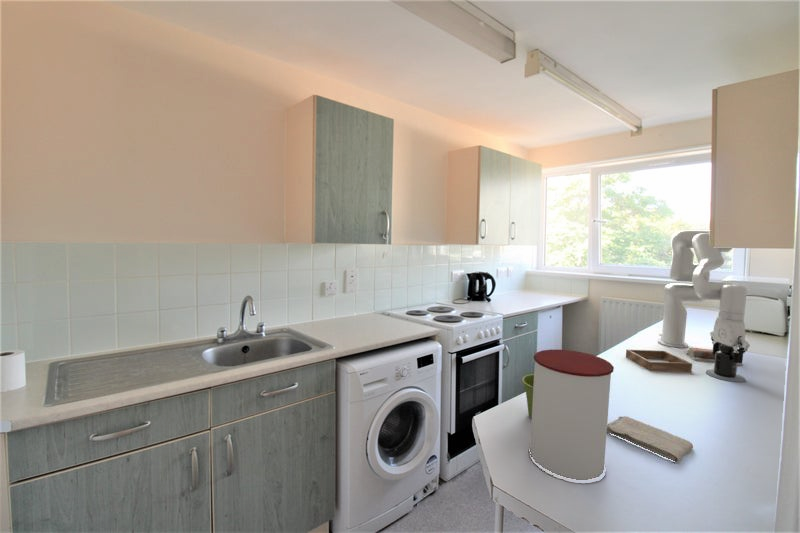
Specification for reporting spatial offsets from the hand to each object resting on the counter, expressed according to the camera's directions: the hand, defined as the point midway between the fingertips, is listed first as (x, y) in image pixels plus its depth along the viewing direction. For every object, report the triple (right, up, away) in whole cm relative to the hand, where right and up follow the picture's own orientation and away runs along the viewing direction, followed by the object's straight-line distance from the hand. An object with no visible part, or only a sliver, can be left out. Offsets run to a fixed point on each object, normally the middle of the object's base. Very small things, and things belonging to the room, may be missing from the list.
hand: (726, 358), depth 147 cm
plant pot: (-88, -9, -36) cm, 96 cm away
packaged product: (+12, -6, +21) cm, 25 cm away
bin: (-19, -6, +13) cm, 24 cm away
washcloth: (-64, -11, -48) cm, 80 cm away
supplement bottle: (0, -7, +1) cm, 7 cm away
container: (-90, -11, -57) cm, 107 cm away
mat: (0, -7, +1) cm, 7 cm away
